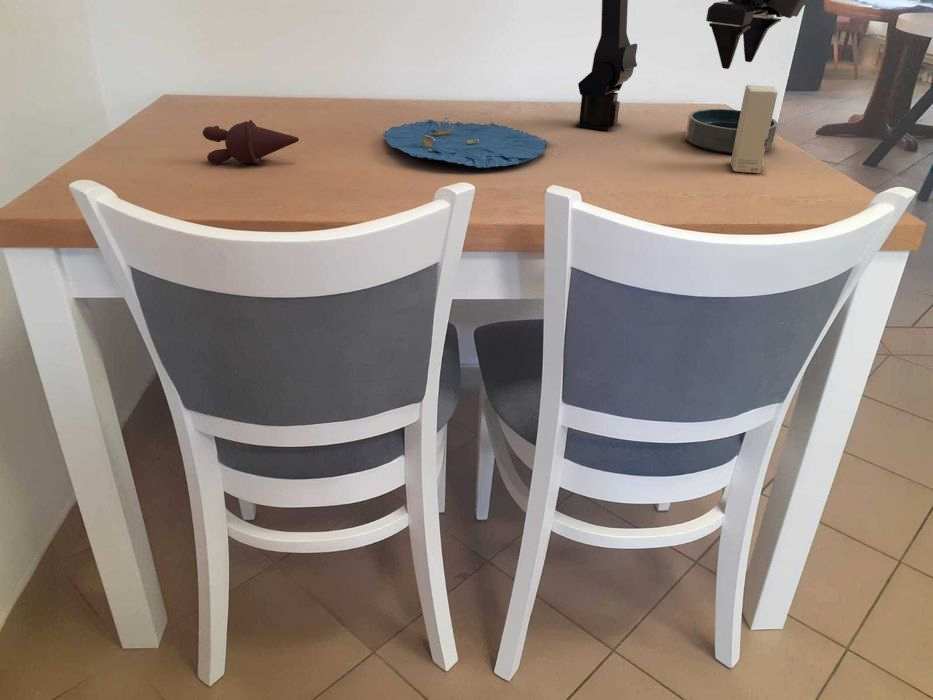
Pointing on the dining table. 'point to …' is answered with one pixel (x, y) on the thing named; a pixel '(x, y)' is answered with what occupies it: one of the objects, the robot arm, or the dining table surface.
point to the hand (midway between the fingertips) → (737, 65)
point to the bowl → (719, 129)
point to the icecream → (246, 142)
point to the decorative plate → (466, 143)
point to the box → (753, 128)
